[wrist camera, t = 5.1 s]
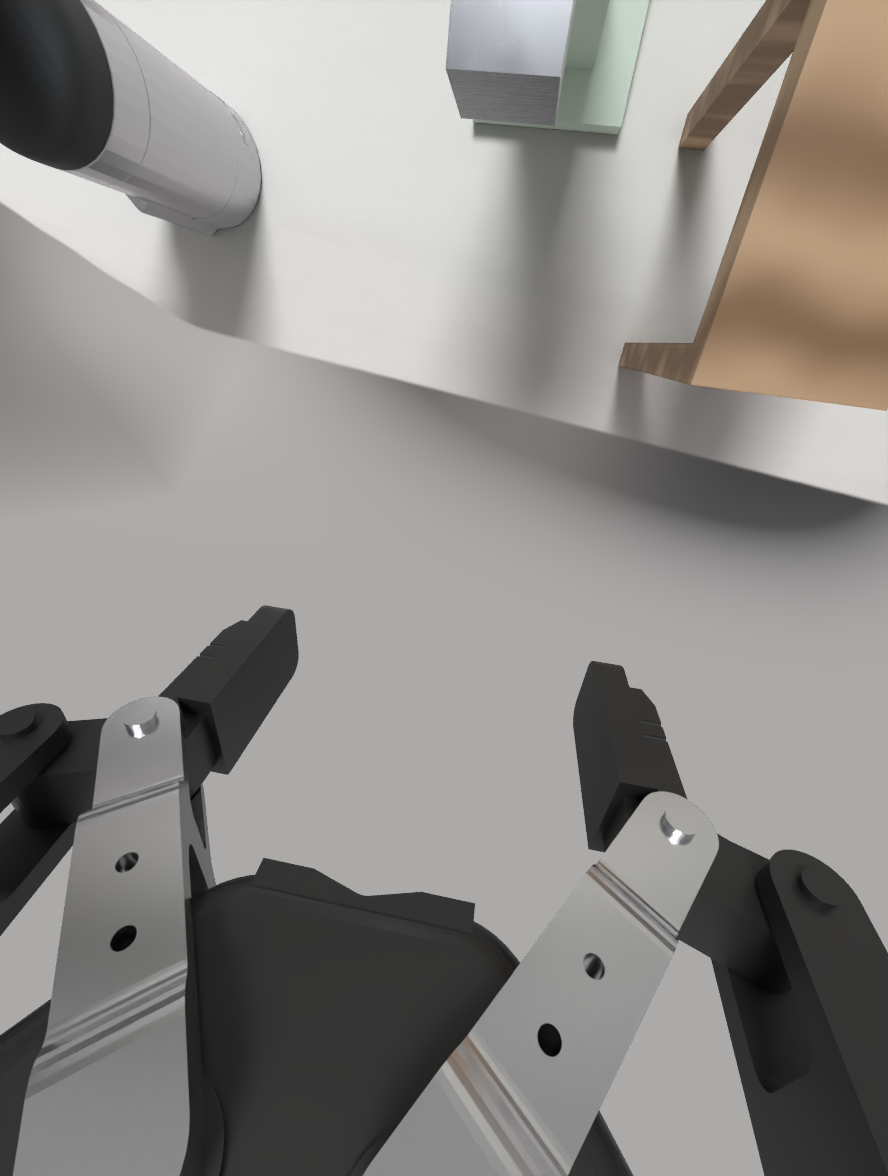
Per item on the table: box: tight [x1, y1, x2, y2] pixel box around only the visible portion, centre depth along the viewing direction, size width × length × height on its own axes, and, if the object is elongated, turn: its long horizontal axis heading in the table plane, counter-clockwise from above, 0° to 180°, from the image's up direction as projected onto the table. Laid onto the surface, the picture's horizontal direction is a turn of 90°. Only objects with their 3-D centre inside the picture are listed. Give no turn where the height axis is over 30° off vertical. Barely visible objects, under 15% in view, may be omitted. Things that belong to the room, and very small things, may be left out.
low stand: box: [619, 0, 888, 411], centre depth 29 cm, size 18×10×23 cm, turn 173°
